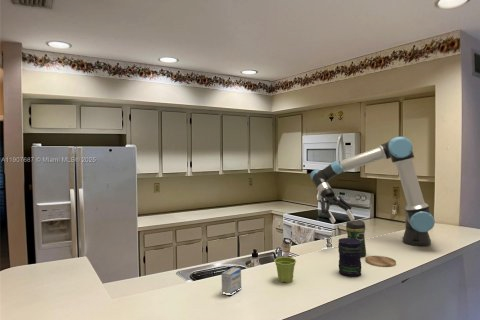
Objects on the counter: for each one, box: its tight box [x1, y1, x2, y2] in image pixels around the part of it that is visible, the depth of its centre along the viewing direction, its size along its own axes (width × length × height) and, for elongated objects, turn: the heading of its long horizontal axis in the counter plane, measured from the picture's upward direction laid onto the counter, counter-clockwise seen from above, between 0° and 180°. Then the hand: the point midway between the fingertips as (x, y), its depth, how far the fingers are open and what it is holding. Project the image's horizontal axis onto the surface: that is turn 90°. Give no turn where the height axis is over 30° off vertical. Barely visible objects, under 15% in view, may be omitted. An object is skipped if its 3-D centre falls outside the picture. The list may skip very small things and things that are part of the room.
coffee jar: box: [345, 220, 367, 258], centre depth 171 cm, size 10×8×19 cm
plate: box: [364, 255, 397, 268], centre depth 160 cm, size 14×14×1 cm
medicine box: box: [221, 266, 242, 294], centre depth 128 cm, size 8×4×9 cm, turn 148°
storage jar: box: [337, 237, 362, 278], centre depth 146 cm, size 10×10×15 cm
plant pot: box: [273, 256, 297, 283], centre depth 139 cm, size 9×9×9 cm
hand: (343, 221), depth 179 cm, fingers open, 13 cm apart
